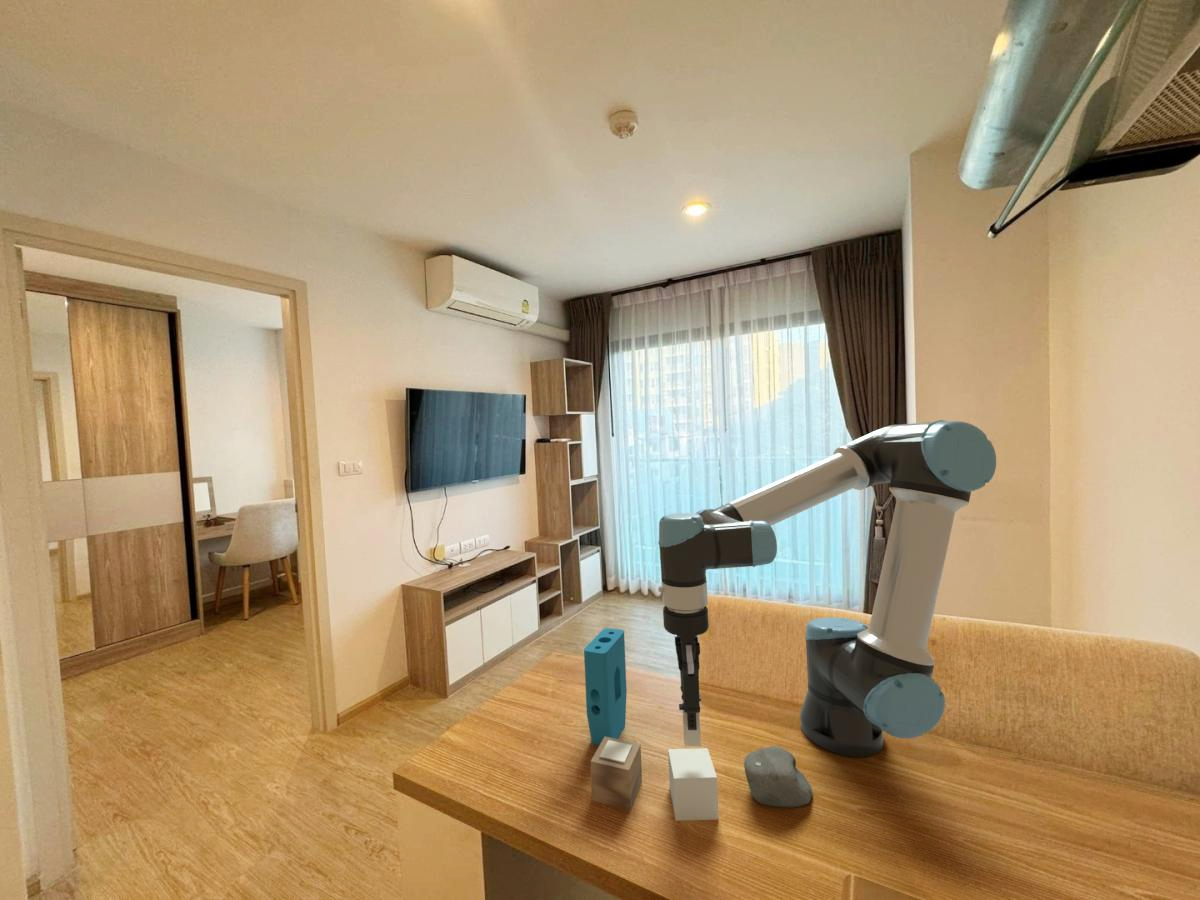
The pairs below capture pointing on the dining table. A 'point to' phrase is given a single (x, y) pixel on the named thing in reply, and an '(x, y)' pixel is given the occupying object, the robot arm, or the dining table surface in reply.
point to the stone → (776, 778)
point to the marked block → (616, 773)
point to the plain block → (693, 784)
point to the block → (605, 684)
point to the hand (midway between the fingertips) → (692, 743)
